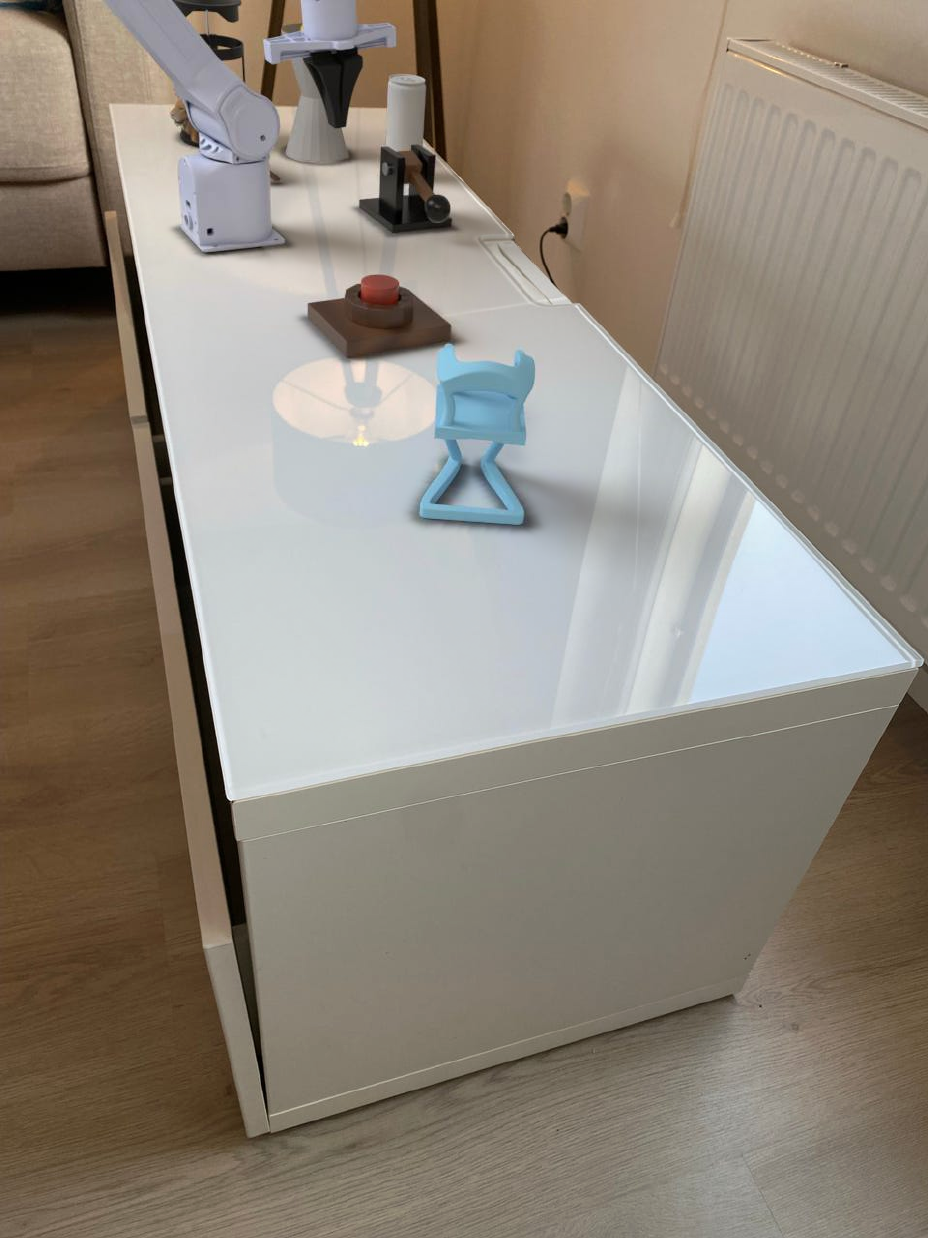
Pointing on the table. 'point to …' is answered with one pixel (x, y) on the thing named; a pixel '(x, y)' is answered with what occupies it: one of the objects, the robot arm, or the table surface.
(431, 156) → the bracket
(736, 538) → the table surface
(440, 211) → the lever
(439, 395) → the chair
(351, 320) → the button block
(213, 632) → the table surface
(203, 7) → the french press
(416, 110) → the beverage can
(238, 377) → the table surface
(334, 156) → the grey hourglass vase
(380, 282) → the button
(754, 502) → the table surface
